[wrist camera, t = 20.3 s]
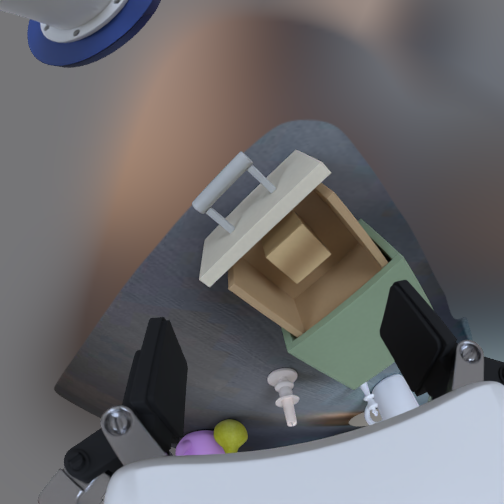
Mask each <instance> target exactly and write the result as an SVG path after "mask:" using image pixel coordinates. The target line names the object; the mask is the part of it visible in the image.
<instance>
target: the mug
mask: <svg viewBox="0 0 504 504" xmlns="http://www.w3.org/2000/svg"><path fill="white" fill-rule="evenodd" d="M372 394H374V397H373V398H374V399H373V400H374V401H375V402H376V403H377V404H378V406H377V408H378V410H379V412H380V415H381V417H382V420H381V421H384V420H386V419H389V418H392V417H394V416H397V415H399V414H402V413H404V412H407V411H409V410H412V409H414V408H416V407H418V406H419V405H418V403H417V401H416V399H415V397H414V395H413V393H412V392H411V390H410V388H409V386H408V384H407V382H406V381H405V379H404V377H403V376H402V375H399V374H395V375H391V376H389V377H387V378H385V379H383V380H382V381H380V382H379V383H378V384H377V385H376V386H375V387H374V389H373V391H372ZM364 417H365V420H366V422H367V423H368V424H369V425H372V424H375V423H378V422H375V421H373V420H372V419H371V417H370V410H368V405H367V406H366V408H365V412H364ZM381 421H379V422H381Z"/></svg>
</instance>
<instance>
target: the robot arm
mask: <svg viewBox="0 0 504 504" xmlns="http://www.w3.org/2000/svg"><path fill="white" fill-rule="evenodd" d="M127 1H128V0H0V10H1V11H4V12H8V13H12V14H15V15H19V16H22V17H25V18H29V19H31V20H34V21H37V22H40V25H41V30H42V32H43V34H44V35H45V37H46V38H48V39H50V40H51V41H54V42H58V43H70V42H75V41H78V40H81V39H83V38H85V37H87V36H89V35H91V34H93V33H95V32H96V31H98V30H99V29H101V28H102V27H103V26H105V25H106V24H107V23H109V22H110V21H111V20H112V19H113V18H114V17H115V16H116V15H117V14H118V13H119V12H120V10H121V9H122V8H123V7H124V6H125V4H126V3H127ZM380 336H381V338H382V340H383V342H384V344H385V345H386V347H387V349H388V350H389V352H390V354H391V356H392V357H393V359H394V361H395V363H396V364H397V366H398V368H399V370H400V372H401V373H402V375H403V377H404V379H405V381H406V382H407V384H408V386H409V388H410V390H411V391H413V392H415V394H416V396H419V395H422V394H424V393H426V392H428V394H429V398H428V402H427V403H425V404H423V405H421V406H418V407H416V408H414V409H412V410H409V411H407V412H404V413H402V414H399V415H397V416H394V417H392V418H389V419H386V420H384V421H381V422H378V423H375V424H372V425H369V426H366V427H363V428H360V429H357V430H353V431H350V432H347V433H343V434H339V435H336V436H332V437H328V438H324V439H320V440H315V441H311V442H306V443H301V444H296V445H291V446H285V447H279V448H272V449H265V450H257V451H248V452H238V453H226V454H209V455H182V456H173V455H172V453H171V452H170V451H169V450H170V449H171V443H179V437H182V436H183V429H184V411H185V396H186V382H187V370H188V368H187V362H186V360H185V357H184V355H183V353H182V350H181V348H180V345H179V343H178V340H177V338H176V335H175V333H174V330H173V328H172V325H171V323H170V321H169V320H167V321H166V319H165V318H164V317H160V318H151V319H150V320H149V323H148V327H147V330H146V334H145V338H144V341H143V345H142V349H141V350H138V351H137V352H136V353H135V356H134V360H133V363H132V367H131V371H130V375H129V379H128V383H127V387H126V391H125V396H124V400H123V404H122V405H117V406H113V407H111V408H109V409H108V410H106V411H105V412H104V414H103V415H102V418H101V429H99V430H98V431H96V432H95V433H93V434H92V435H90V436H89V437H88V438H86V439H85V440H83V441H82V442H80V443H79V444H77V445H76V446H74V447H73V448H71V449H70V450H69V451H68V452H67V453H66V455H65V458H64V466H65V467H64V469H63V470H62V469H59V470H58V471H57V473H56V474H55V475H54V476H53V478H52V479H51V480H50V482H49V483H48V484H47V485H46V487H45V488H44V489H43V490H42V492H41V493H40V495H39V497H38V503H39V504H100V503H101V502H102V501H103V499H102V497H103V496H104V494H105V493H106V494H105V500H104V504H504V362H500V361H497V360H494V359H490V358H487V357H484V354H483V350H482V348H481V347H480V346H479V345H478V344H477V343H476V342H474V341H471V340H464V341H461V342H460V343H459V344H457V343H456V341H457V339H456V338H455V336H454V335H453V334H452V332H451V331H450V330H449V329H448V327H447V326H446V325H445V324H444V322H443V321H442V320H441V319H440V317H439V316H438V315H437V314H436V313H435V311H434V310H433V309H432V308H431V307H430V306H429V304H428V303H427V302H426V301H425V300H424V299H423V297H422V296H421V295H420V294H419V293H418V292H417V291H416V289H415V288H414V287H413V286H412V285H411V284H410V283H409V282H408V281H407V280H401V281H396V282H394V283H393V285H392V286H391V287H390V290H389V294H388V299H387V303H386V307H385V311H384V315H383V319H382V323H381V327H380Z"/></svg>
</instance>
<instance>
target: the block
mask: <svg viewBox="0 0 504 504" xmlns="http://www.w3.org/2000/svg"><path fill="white" fill-rule="evenodd" d="M261 242H262V245H263V249H264V252H265V256H266V258H267V259H268V260H269V261H270V262H272V263H273V264H274V265H275V266H276V267H277V268H279V269H280V270H281V271H282V272H283V273H284V274H286V275H287V276H288V277H289V278H290V279H291V280H293V281H294V282H295V283H296V284H298V283H299V282H300V281H302V280H303V279H304V278H305V277H306V276H307V275H309V274H310V273H311V272H312V271H313V270H314V269H315V268H317V267H318V266H319V265H320V264H321V263H322V262H323V261H325V260H326V259H327V258H328V257H329V256H330V255H331V253H330V251H329V250H328V249H327V247H326V246H325V244H324V243H323V242H322V240H321V239H320V237H319V236H318V235H317V234H316V233H315V232H314V231H313V229H312V228H311V227H310V226H309V225H308V224H307V223H306V222H305V221H304V220H303V219H302V218H301V217H300V216H299V215H298V214H297V213H296V212H295V211H294V210H293V209H292V210H291V211H290V212H289V213H288V214H287V215H286V216H285V217H284V218H283V219H282V220H281V221H279V222H278V223H277V224H276V225H275V226H274V227H273V228H272V229H271V230H270V231H269V232H268V233H267V234H266V235H265V236H264V237H262V238H261Z"/></svg>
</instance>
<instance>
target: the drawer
mask: <svg viewBox="0 0 504 504" xmlns="http://www.w3.org/2000/svg"><path fill="white" fill-rule="evenodd" d="M252 164H253V162H252V161H251V160H250V159H249V158H248V157H247V156H246V155H245V154H244V153H243V152H240V153H239V154H238V155H237V156H236V157H235V158H234V159H233V160H232V161H231V162H230V163H229V164H228V165H227V166H226V167H225V168H224V169H223V170H222V171H221V172H220V173H219V174H218V175H217V176H216V177H215V178H214V179H213V181H212V182H211V183H210V184H209V185H208V186H207V187H206V188H205V189H204V190H203V191H202V192H201V193H200V194H199V196H198V197H197V198H196V199H195V200H194V201H193V202H192V205H193V207H194V208H195V209H196V210H197V211H198V212H200V213H202V214H204V213H205V212H206V214H207V215H209V216H210V217H211V218H212V219H213V220H215V221H216V222H217V223H218V224H219V225H218V226H217V228H216V229H215V230H214V231H213V232H212V233H211V234H210V235H209V236H208V237H207V238H206V239H205V241H204V248H203V255H202V262H201V269H200V276H199V280H200V281H201V282H203V283H204V284H206V285H207V286H208V287H211V286H212V285H213V284H214V283H215V282H216V281H217V280H218V279H219V278H220V277H221V276H222V275H223V274H224V273H225V272H226V271H227V270H228V289H229V290H230V291H232V292H233V293H234V294H236V295H237V296H238V297H240V298H241V299H243V300H244V301H245V302H247V303H248V304H250V305H251V306H252V307H254V308H255V309H257V310H258V311H259V312H261V313H262V314H264V315H265V316H267V317H268V318H269V319H271V320H272V321H274V322H275V323H277V324H278V325H279V326H281V327H282V328H284V329H285V330H287V331H288V332H290V333H291V334H293V335H294V336H296V337H297V338H298V337H299V336H301V335H302V334H303V333H305V332H306V331H307V330H309V329H310V328H311V327H313V326H314V325H315V324H317V323H318V322H319V321H320V320H322V319H323V318H324V317H326V316H327V315H328V314H329V313H331V312H332V311H333V310H334V309H336V308H337V307H338V306H339V305H341V304H342V303H343V302H344V301H345V300H347V299H348V298H349V297H350V296H351V295H353V294H354V293H355V292H356V291H357V290H358V289H360V288H361V287H362V286H363V285H364V284H365V283H367V282H368V281H369V280H370V279H371V278H372V277H373V276H374V275H376V274H377V273H378V272H379V271H380V270H381V269H382V268H383V267H384V266H386V265H387V264H388V261H387V260H386V259H385V257H384V256H383V254H382V253H381V252H380V250H379V249H378V248H377V246H376V245H375V243H374V242H373V241H372V239H371V238H370V237H369V235H368V234H367V233H366V231H365V230H364V229H363V228H362V226H361V225H360V224H359V222H358V221H357V220H356V219H355V217H354V216H353V215H352V213H351V212H350V211H349V210H348V209H347V207H346V206H345V205H344V204H343V202H342V201H341V200H340V199H339V198H338V196H337V195H336V194H335V193H334V192H333V191H332V190H330V189H329V188H328V187H326V186H325V185H324V184H322V183H321V182H322V181H323V180H324V179H325V178H326V177H327V176H328V175H330V174H331V172H330V171H329V170H328V168H327V167H326V166H325V165H324V164H323V163H322V162H321V161H319V160H317V159H315V158H313V157H311V156H309V155H307V154H304V153H302V152H300V151H298V150H295V151H294V152H293V153H292V154H291V155H290V156H289V157H287V158H286V159H285V160H284V161H283V162H282V163H281V164H280V165H279V166H278V167H277V168H276V169H275V170H274V171H273V172H272V173H271V174H270V175H269V176H268V177H267V178H266V177H265V176H264V175H263V174H262V173H260V172H259V171H258V170H257V169H256V168H255V167H254V166H253V165H252ZM246 170H247V171H248V172H249V173H250V174H252V175H253V176H254V177H255V178H256V179H257V180H258V181H259V182H260V184H259V185H258V186H257V187H256V188H255V189H254V190H253V191H252V192H251V193H250V194H249V195H248V196H247V197H246V198H245V199H244V200H243V201H242V202H241V203H240V204H239V205H238V206H237V207H236V208H235V209H234V210H233V211H232V212H231V213H230V214H229V215H228V216H227V217H226V218H224V217H222V216H221V215H220V214H219V213H218V212H217V211H215V210H214V209H213V208H212V207H211V206H212V205H213V204H214V203H215V202H216V200H217V199H218V198H219V197H220V196H221V195H222V194H223V193H224V192H225V191H226V190H227V189H228V188H229V187H230V186H231V185H232V184H233V183H234V182H235V181H236V180H237V179H238V178H239V177H240V176H241V175H242V174H243V173H244V172H245V171H246ZM292 209H293V210H294V211H295V212H296V213H297V214H298V215H299V216H300V217H301V218H302V219H303V220H304V221H305V222H306V223H307V224H308V225H309V226H310V227H311V228H312V229H313V231H314V232H315V233H316V234H317V235H318V236H319V237H320V239H321V240H322V242H323V243H324V244H325V246H326V247H327V249H328V250H329V251H330V253H331V255H330V256H329V257H328V258H327V259H326V260H325V261H323V262H322V263H321V264H320V265H319V266H318V267H317V268H315V269H314V270H313V271H312V272H311V273H310V274H309V275H307V276H306V277H305V278H304V279H303V280H302V281H300V282H299V283H298V284H296V283H295V282H294V281H293V280H291V279H290V278H289V277H288V276H287V275H286V274H284V273H283V272H282V271H281V270H280V269H279V268H277V267H276V266H275V265H274V264H273V263H272V262H270V261H269V260H268V259H267V258H266V256H265V252H264V249H263V245H262V242H261V238H262V237H264V236H265V235H266V234H267V233H268V232H269V231H270V230H271V229H272V228H273V227H274V226H275V225H276V224H277V223H278V222H279V221H281V220H282V219H283V218H284V217H285V216H286V215H287V214H288V213H289V212H290V211H291V210H292Z"/></svg>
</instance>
